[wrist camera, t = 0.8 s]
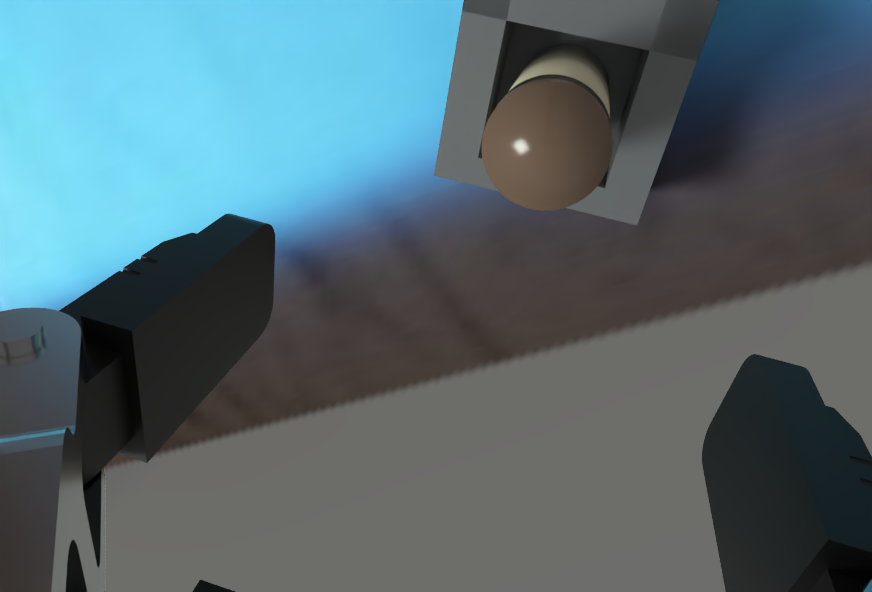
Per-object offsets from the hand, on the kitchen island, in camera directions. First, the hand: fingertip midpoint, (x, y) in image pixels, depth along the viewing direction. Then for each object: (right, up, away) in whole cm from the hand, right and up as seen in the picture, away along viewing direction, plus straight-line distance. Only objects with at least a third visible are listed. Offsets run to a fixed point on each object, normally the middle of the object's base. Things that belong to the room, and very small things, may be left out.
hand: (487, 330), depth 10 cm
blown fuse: (+5, +10, +17) cm, 20 cm away
